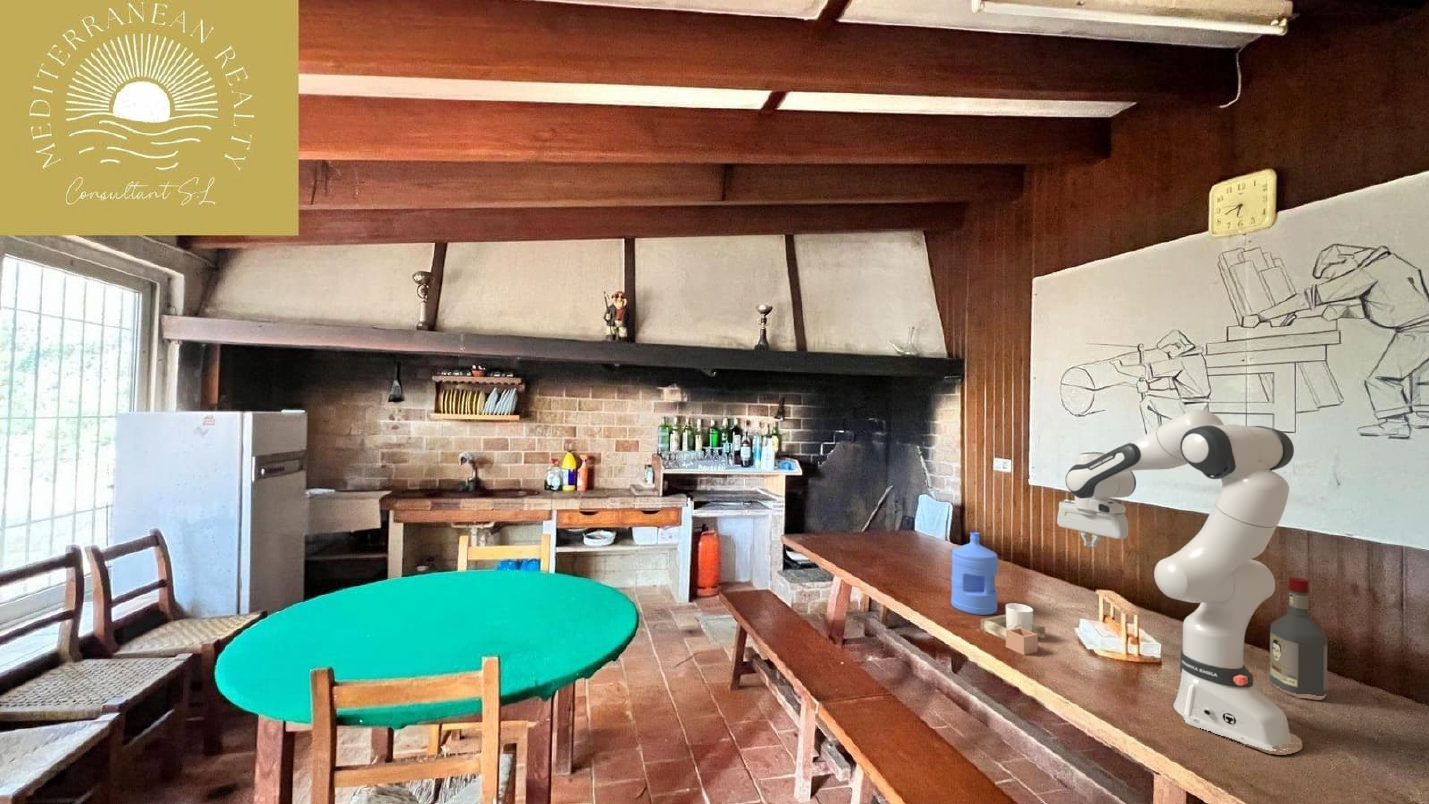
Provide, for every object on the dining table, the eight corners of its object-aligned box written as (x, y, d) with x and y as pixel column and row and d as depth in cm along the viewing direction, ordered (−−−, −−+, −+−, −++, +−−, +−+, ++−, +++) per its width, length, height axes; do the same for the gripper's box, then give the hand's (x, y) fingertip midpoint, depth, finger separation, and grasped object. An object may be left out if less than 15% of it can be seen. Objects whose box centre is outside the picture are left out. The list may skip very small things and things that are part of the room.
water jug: (941, 602, 214) (942, 529, 214) (975, 599, 218) (976, 527, 218) (972, 617, 199) (973, 538, 199) (1007, 613, 203) (1008, 536, 204)
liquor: (1306, 686, 152) (1307, 576, 153) (1332, 703, 144) (1333, 586, 144) (1264, 681, 155) (1265, 572, 155) (1288, 697, 146) (1289, 582, 146)
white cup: (1024, 633, 185) (1025, 603, 185) (1037, 643, 177) (1038, 612, 177) (1000, 633, 186) (1001, 602, 186) (1012, 643, 178) (1013, 611, 178)
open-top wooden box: (1037, 654, 170) (1037, 634, 170) (1023, 657, 167) (1023, 637, 167) (1019, 646, 175) (1019, 627, 175) (1005, 649, 173) (1006, 629, 173)
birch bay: (1044, 639, 181) (1045, 627, 181) (1014, 646, 175) (1014, 633, 175) (1009, 625, 192) (1010, 613, 192) (980, 631, 187) (980, 619, 187)
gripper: (1052, 498, 185) (1052, 540, 185) (1118, 509, 166) (1118, 556, 166) (1065, 497, 188) (1064, 538, 188) (1131, 508, 169) (1131, 554, 169)
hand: (1090, 547), depth 177 cm, fingers closed
